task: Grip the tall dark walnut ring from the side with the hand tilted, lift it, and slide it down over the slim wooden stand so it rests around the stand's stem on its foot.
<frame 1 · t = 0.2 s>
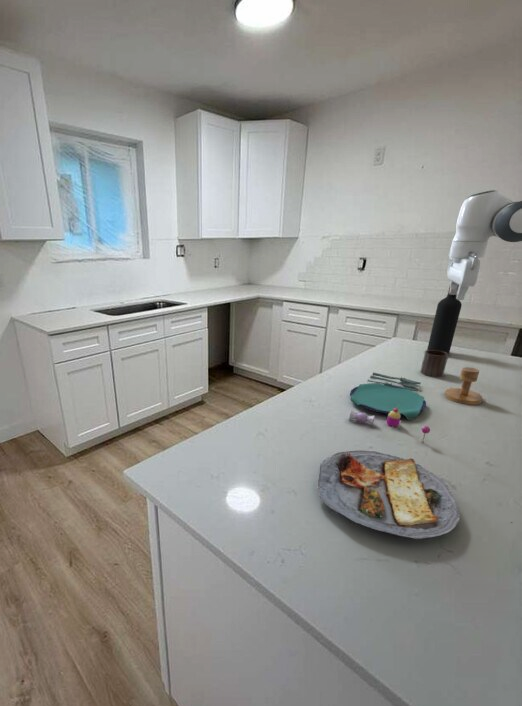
hand: (455, 296, 116), 26 cm above the counter, tool pointing down, fingers open, 8 cm apart
wooden stand: (462, 397, 107), on the counter
wine bottle: (437, 353, 144), on the counter
walnut ring: (431, 373, 125), on the counter
cutlery set: (389, 397, 109), on the counter
food plate: (380, 495, 70), on the counter
candy: (386, 428, 93), on the counter
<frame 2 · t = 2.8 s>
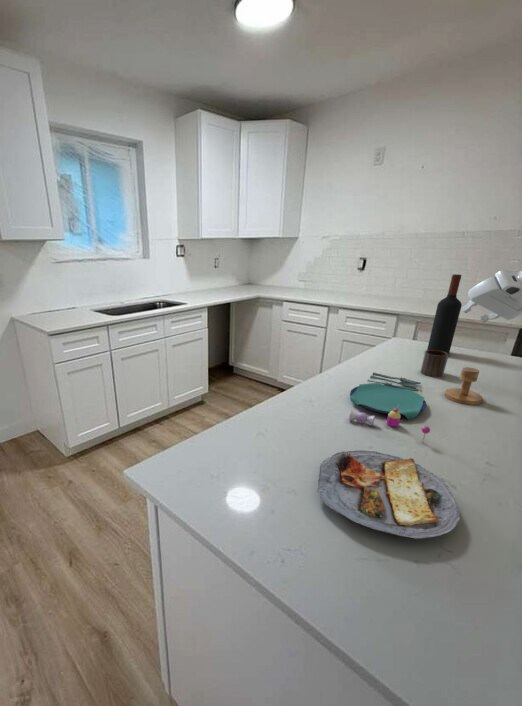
hand: (472, 315, 116), 20 cm above the counter, tool tilted 45°, fingers open, 8 cm apart
nothing on the counter moved.
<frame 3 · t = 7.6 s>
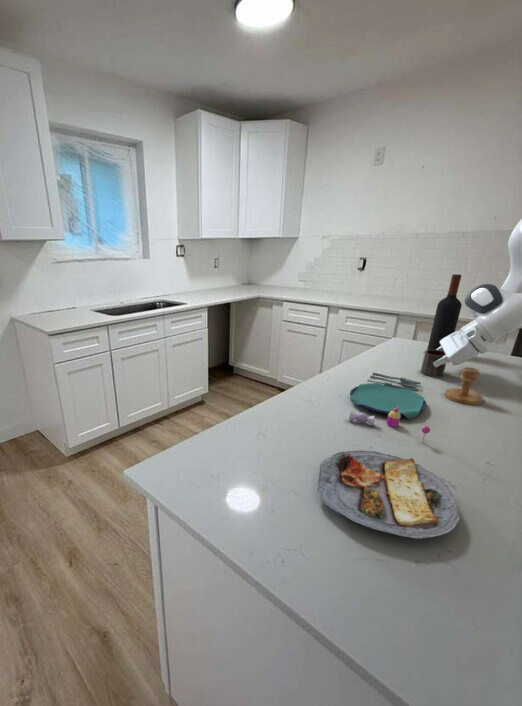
hand: (432, 361, 123), 4 cm above the counter, tool tilted 45°, fingers closed on walnut ring, 6 cm apart
walnut ring: (431, 373, 125), on the counter, touching gripper
everything else where it was.
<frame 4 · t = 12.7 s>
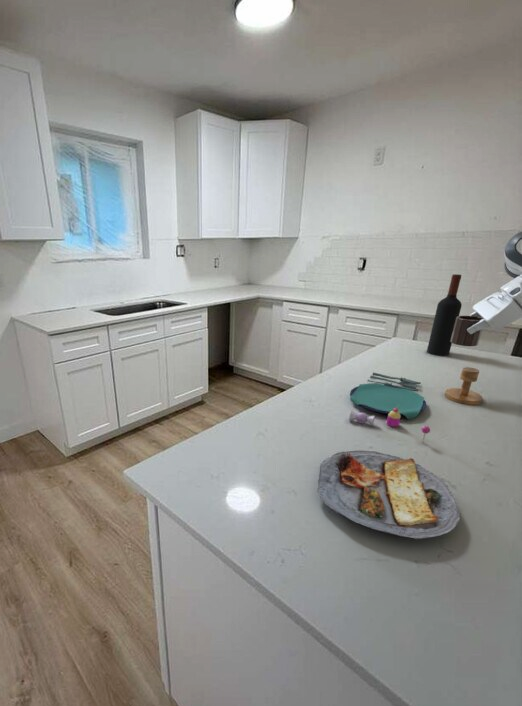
hand: (465, 328, 105), 19 cm above the counter, tool tilted 45°, fingers closed on walnut ring, 6 cm apart
walnut ring: (463, 343, 107), point 15 cm above the counter, touching gripper
everything else where it was.
when the fingers open (5 cm above the counter, at t = 18.0 s): walnut ring stays where it is, resting on wooden stand.
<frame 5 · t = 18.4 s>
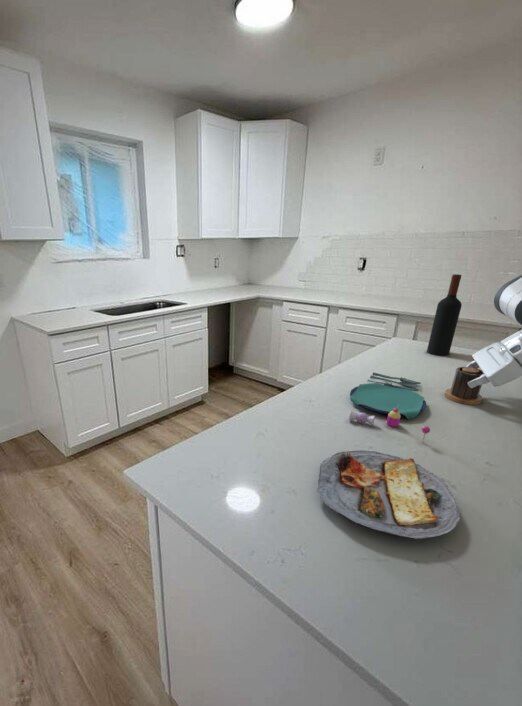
hand: (465, 379, 105), 6 cm above the counter, tool tilted 45°, fingers open, 8 cm apart
walnut ring: (463, 394, 106), point 1 cm above the counter, touching wooden stand
everything else where it was.
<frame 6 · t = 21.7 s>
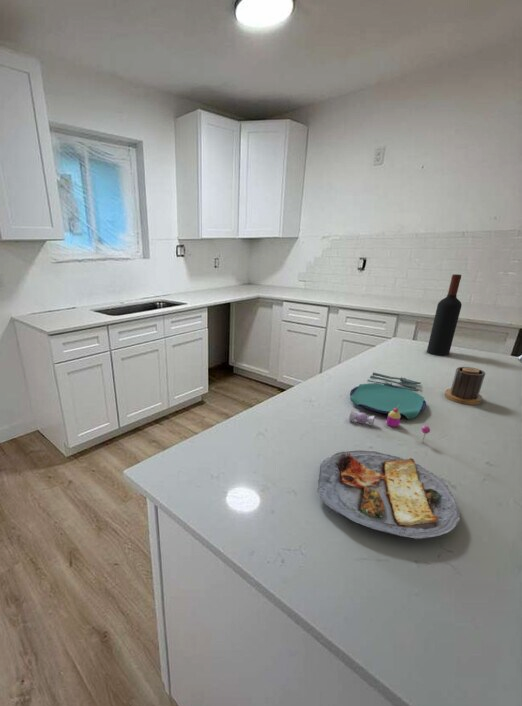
nothing on the counter moved.
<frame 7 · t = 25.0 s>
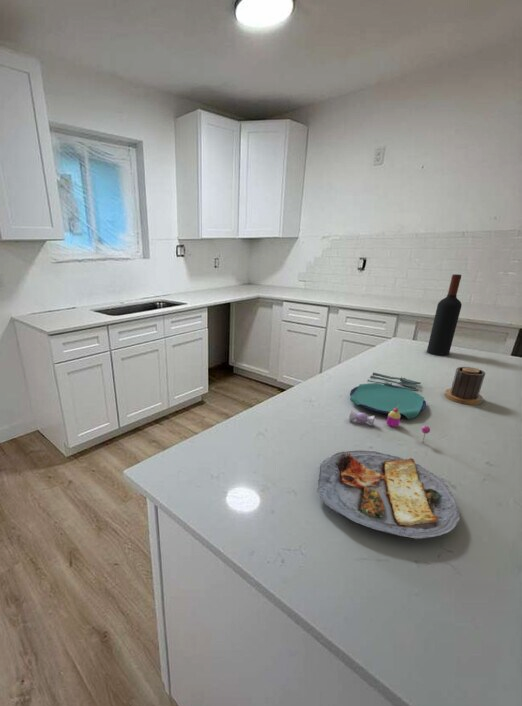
nothing on the counter moved.
at the end: walnut ring 0.2 cm off-centre on the wooden stand, point 1.2 cm above the wooden stand's base; walnut ring tilted 0°; the gripper is holding nothing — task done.
